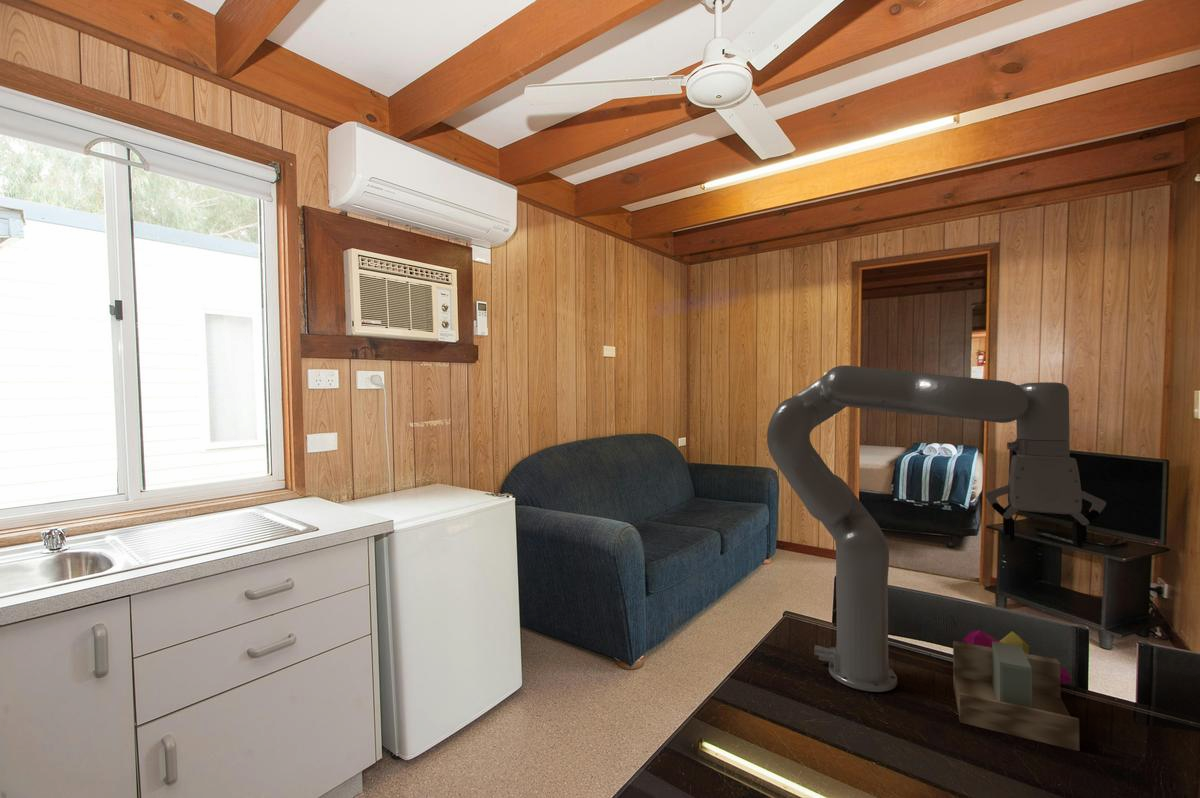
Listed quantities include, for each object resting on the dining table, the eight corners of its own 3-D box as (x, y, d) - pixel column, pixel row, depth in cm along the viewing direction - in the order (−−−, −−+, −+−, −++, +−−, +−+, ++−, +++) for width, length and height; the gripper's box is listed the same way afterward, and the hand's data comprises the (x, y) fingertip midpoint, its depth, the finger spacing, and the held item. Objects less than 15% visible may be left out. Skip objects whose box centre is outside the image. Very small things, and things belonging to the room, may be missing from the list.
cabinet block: (1000, 708, 93) (999, 662, 93) (992, 683, 101) (992, 641, 101) (1032, 715, 91) (1031, 668, 91) (1021, 689, 99) (1021, 646, 99)
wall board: (960, 722, 94) (959, 671, 94) (953, 686, 106) (953, 640, 106) (1079, 751, 86) (1078, 695, 86) (1057, 708, 98) (1057, 659, 98)
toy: (1077, 708, 100) (1083, 652, 103) (968, 665, 105) (977, 613, 109) (1047, 702, 109) (1053, 650, 112) (948, 663, 114) (957, 614, 118)
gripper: (987, 449, 100) (988, 541, 100) (1112, 453, 91) (1113, 553, 91) (982, 446, 106) (983, 532, 106) (1098, 449, 98) (1098, 543, 98)
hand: (1043, 542), depth 99 cm, fingers open, 9 cm apart
